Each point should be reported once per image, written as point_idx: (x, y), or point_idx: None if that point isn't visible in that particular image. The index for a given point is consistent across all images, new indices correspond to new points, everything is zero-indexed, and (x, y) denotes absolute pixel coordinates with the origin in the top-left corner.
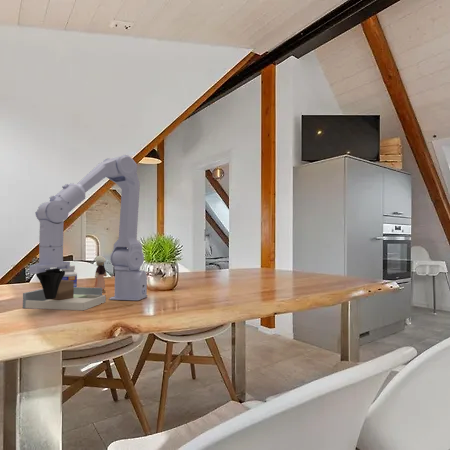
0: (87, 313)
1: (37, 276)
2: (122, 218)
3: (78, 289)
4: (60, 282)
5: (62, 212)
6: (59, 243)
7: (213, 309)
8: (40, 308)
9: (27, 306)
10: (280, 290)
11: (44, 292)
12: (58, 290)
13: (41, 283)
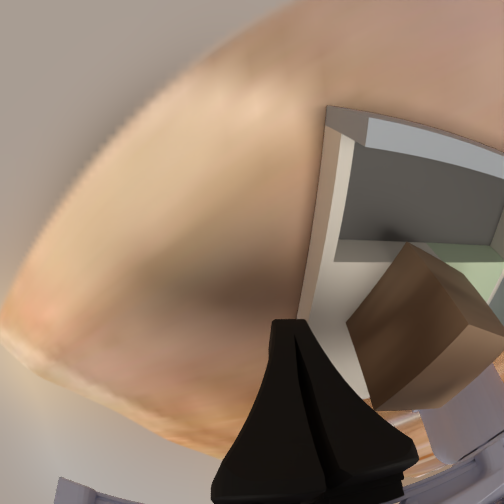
0: (237, 401)
1: (223, 459)
2: None
3: (500, 319)
4: (383, 410)
5: None
6: None
7: None
8: (313, 226)
9: (326, 142)
10: (429, 457)
11: (271, 350)
12: (361, 367)
13: (253, 406)
